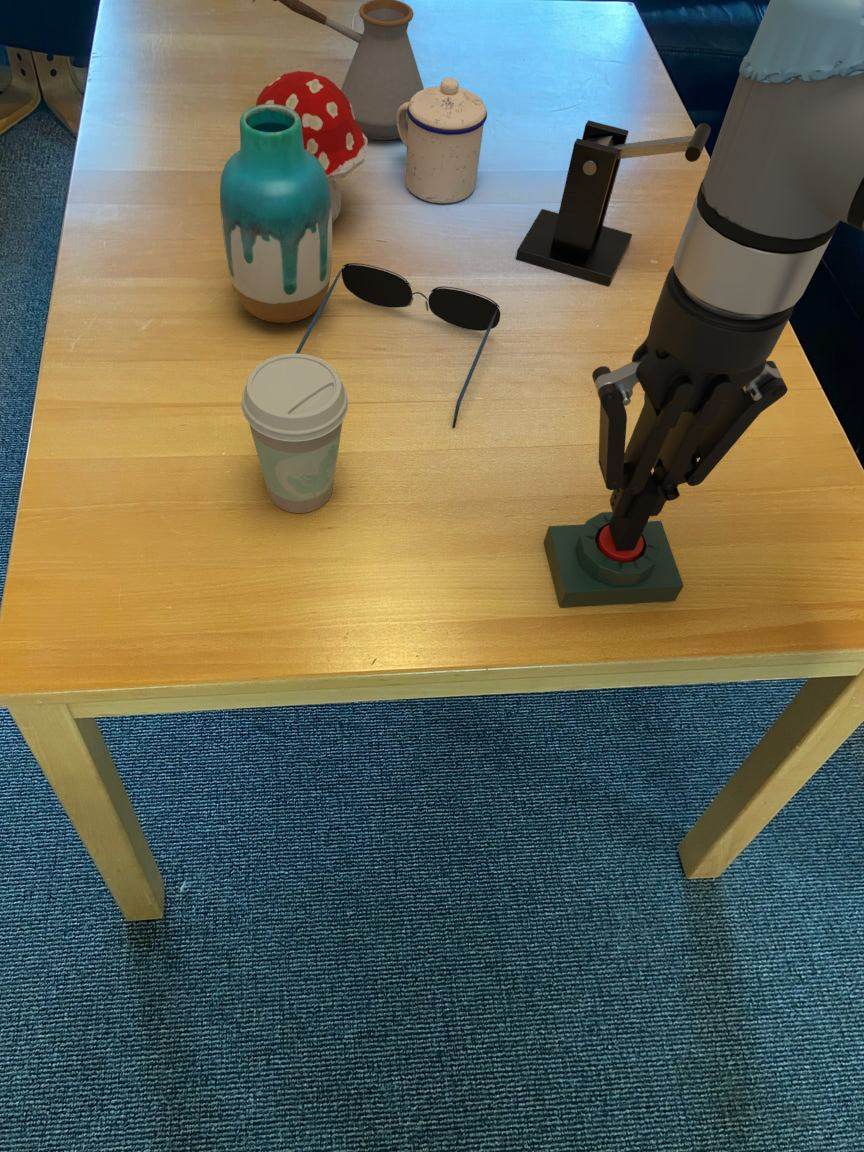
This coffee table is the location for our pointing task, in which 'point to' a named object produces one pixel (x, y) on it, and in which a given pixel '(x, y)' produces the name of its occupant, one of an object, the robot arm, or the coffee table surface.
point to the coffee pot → (376, 64)
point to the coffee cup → (296, 427)
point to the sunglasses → (398, 293)
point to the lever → (662, 145)
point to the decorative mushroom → (321, 124)
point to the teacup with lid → (442, 141)
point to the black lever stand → (582, 215)
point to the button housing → (610, 567)
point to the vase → (276, 218)
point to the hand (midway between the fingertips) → (621, 537)
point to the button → (609, 549)
